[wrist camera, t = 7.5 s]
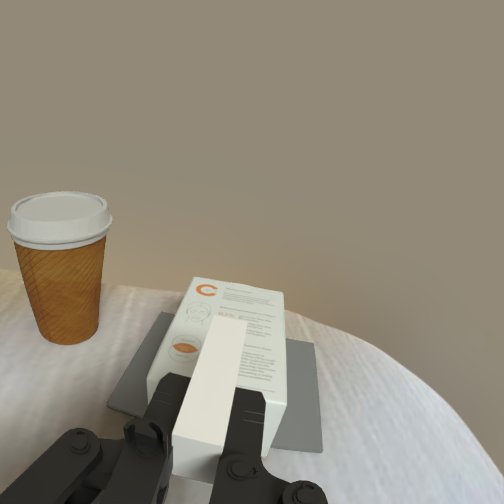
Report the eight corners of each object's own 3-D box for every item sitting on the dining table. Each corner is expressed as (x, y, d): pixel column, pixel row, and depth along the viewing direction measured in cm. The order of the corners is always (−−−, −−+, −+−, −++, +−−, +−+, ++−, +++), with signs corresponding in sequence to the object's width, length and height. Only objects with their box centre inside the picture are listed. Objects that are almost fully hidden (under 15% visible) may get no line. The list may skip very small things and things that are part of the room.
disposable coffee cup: (82, 289, 33) (80, 185, 29) (133, 331, 29) (135, 209, 25) (11, 316, 26) (-6, 200, 21) (51, 372, 21) (26, 234, 17)
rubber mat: (107, 406, 20) (106, 404, 20) (161, 313, 33) (161, 311, 33) (321, 452, 20) (322, 450, 20) (313, 345, 32) (313, 343, 32)
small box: (266, 460, 19) (270, 346, 31) (289, 405, 16) (285, 290, 28) (148, 438, 19) (188, 331, 31) (142, 377, 16) (193, 273, 28)
